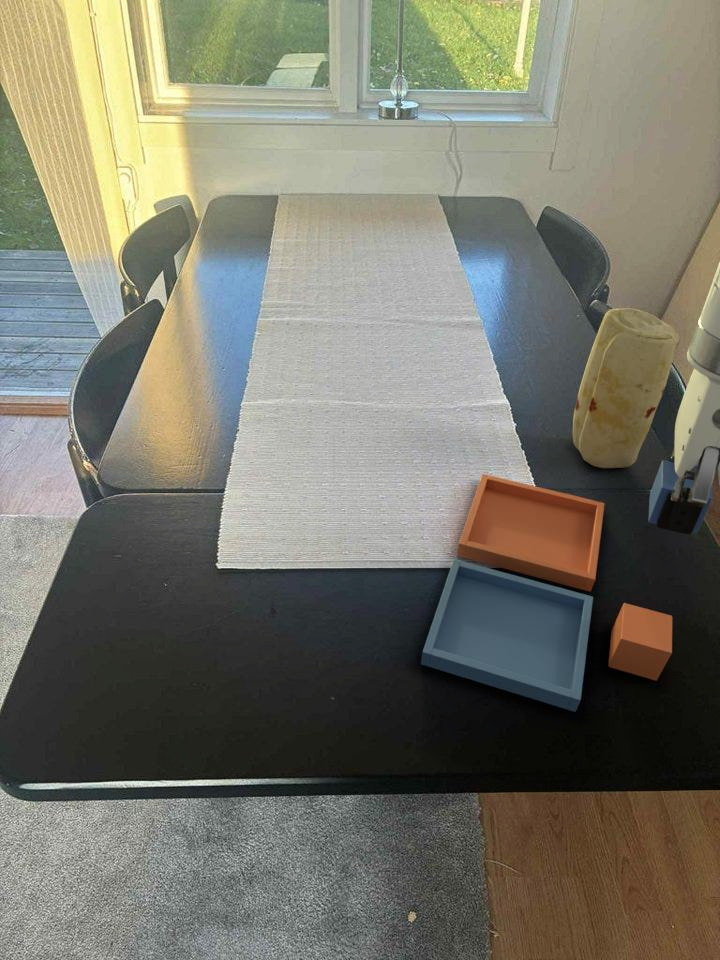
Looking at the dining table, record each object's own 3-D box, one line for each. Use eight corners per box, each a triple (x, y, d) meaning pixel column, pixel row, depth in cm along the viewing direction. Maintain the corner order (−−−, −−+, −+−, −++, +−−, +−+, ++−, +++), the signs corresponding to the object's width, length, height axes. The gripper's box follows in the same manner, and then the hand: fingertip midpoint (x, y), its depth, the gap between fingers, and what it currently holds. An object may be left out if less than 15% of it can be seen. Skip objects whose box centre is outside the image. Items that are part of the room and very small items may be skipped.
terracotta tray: (600, 515, 83) (604, 502, 82) (590, 592, 74) (595, 579, 73) (480, 485, 87) (482, 473, 85) (456, 555, 78) (458, 543, 76)
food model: (643, 460, 91) (697, 322, 78) (619, 484, 88) (671, 343, 75) (577, 428, 96) (617, 293, 83) (552, 449, 93) (589, 312, 79)
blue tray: (588, 609, 73) (593, 596, 71) (575, 712, 63) (580, 700, 62) (451, 571, 76) (453, 558, 75) (420, 664, 67) (422, 651, 66)
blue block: (696, 504, 71) (711, 469, 68) (697, 533, 67) (712, 498, 64) (649, 494, 72) (662, 459, 69) (648, 522, 68) (661, 487, 66)
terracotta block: (657, 644, 69) (672, 615, 67) (656, 681, 66) (672, 653, 63) (611, 630, 70) (623, 602, 68) (608, 666, 67) (621, 638, 64)
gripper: (803, 412, 51) (717, 582, 62) (778, 312, 63) (710, 469, 75) (693, 392, 52) (629, 561, 64) (690, 299, 65) (637, 454, 76)
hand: (673, 510), depth 69 cm, fingers closed on blue block, 4 cm apart
